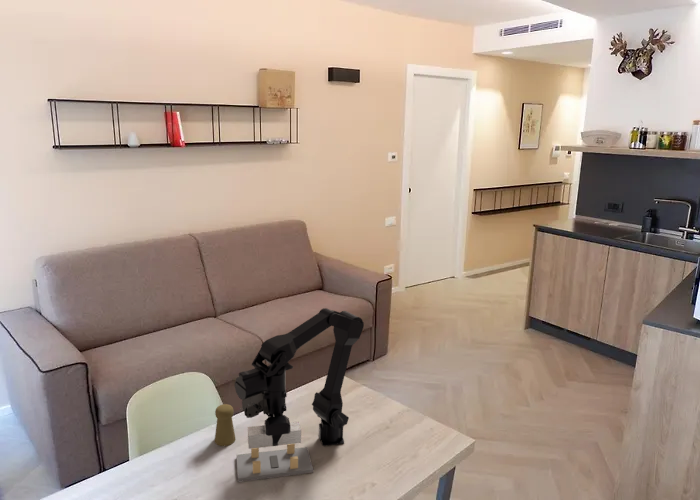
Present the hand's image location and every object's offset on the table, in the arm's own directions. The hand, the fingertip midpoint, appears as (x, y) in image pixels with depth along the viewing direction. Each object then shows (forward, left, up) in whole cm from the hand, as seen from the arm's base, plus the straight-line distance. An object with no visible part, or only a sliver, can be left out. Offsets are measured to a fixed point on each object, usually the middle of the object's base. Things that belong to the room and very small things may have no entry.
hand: (274, 438), depth 143 cm
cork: (+13, -14, -9) cm, 21 cm away
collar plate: (0, 0, -9) cm, 9 cm away
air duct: (0, 0, -1) cm, 1 cm away
